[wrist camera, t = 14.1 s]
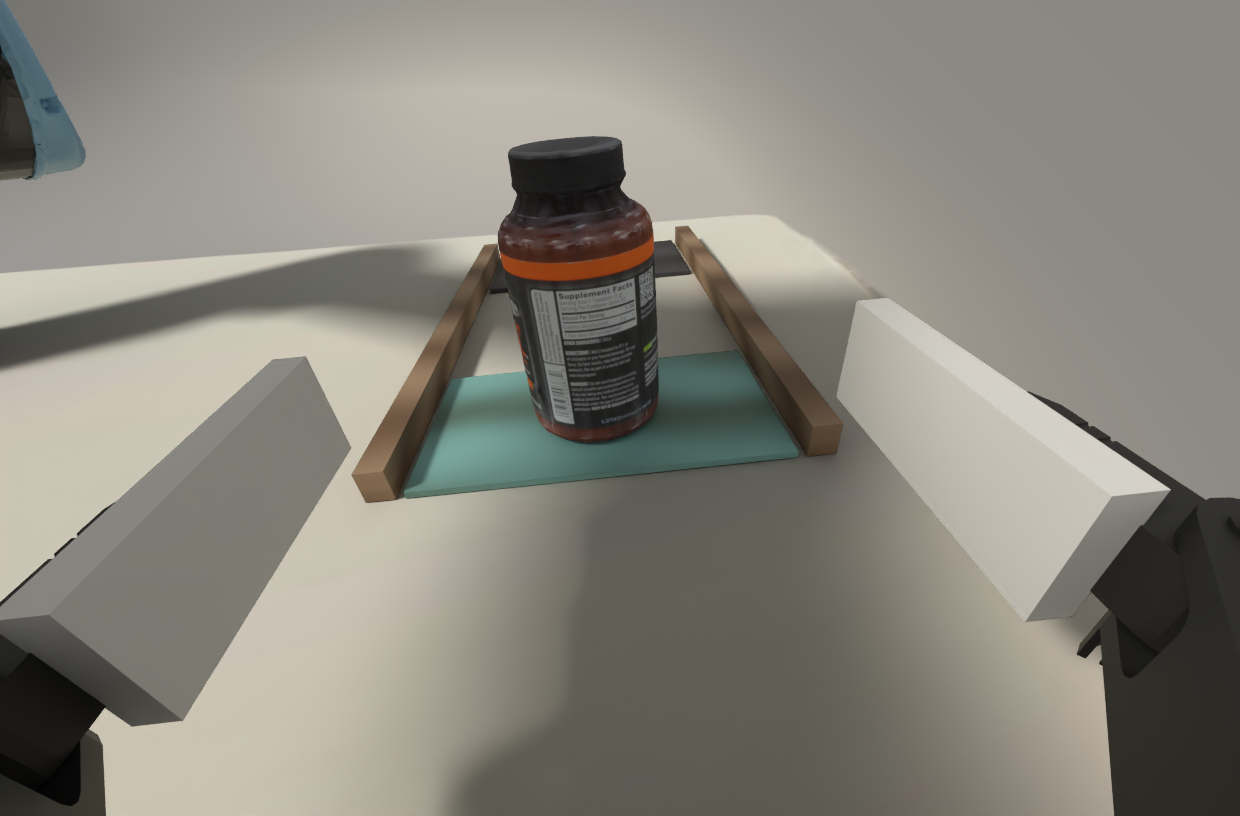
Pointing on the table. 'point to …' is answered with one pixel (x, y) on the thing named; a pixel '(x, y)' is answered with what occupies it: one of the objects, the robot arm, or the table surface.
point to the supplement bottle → (582, 288)
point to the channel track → (670, 440)
